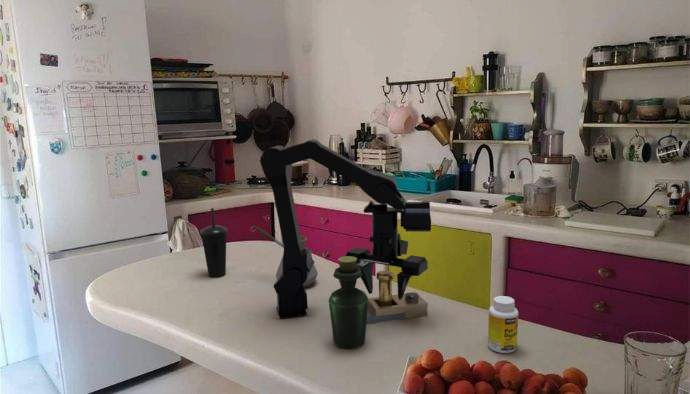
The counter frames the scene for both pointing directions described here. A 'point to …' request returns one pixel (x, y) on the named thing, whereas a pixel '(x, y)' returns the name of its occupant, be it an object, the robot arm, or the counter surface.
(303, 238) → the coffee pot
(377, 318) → the knobbed window plate
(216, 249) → the drinking cup
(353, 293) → the potion bottle
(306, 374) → the counter surface
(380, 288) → the pin
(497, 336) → the supplement bottle
